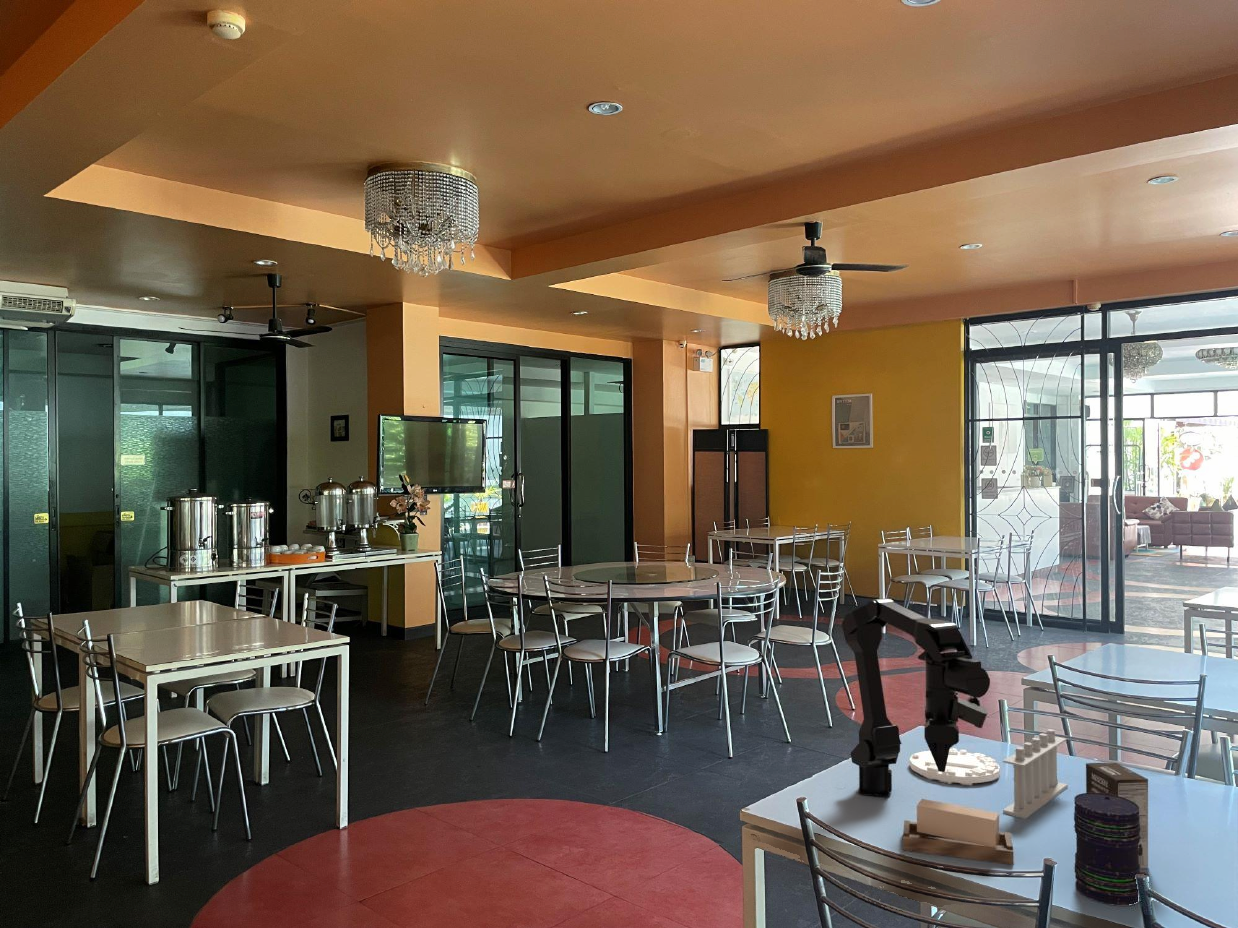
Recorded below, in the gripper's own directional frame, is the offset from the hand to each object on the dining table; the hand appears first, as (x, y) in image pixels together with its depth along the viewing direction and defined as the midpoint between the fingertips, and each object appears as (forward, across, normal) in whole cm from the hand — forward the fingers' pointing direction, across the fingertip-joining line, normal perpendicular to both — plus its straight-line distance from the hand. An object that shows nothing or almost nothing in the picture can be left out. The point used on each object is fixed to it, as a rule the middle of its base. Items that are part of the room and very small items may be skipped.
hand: (941, 764), depth 177 cm
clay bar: (+10, -10, -3) cm, 14 cm away
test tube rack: (+13, +22, -19) cm, 32 cm away
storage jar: (+13, -20, -26) cm, 35 cm away
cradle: (+12, -10, -2) cm, 16 cm away
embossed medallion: (+13, +36, -3) cm, 38 cm away
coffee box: (+13, -5, -30) cm, 33 cm away
